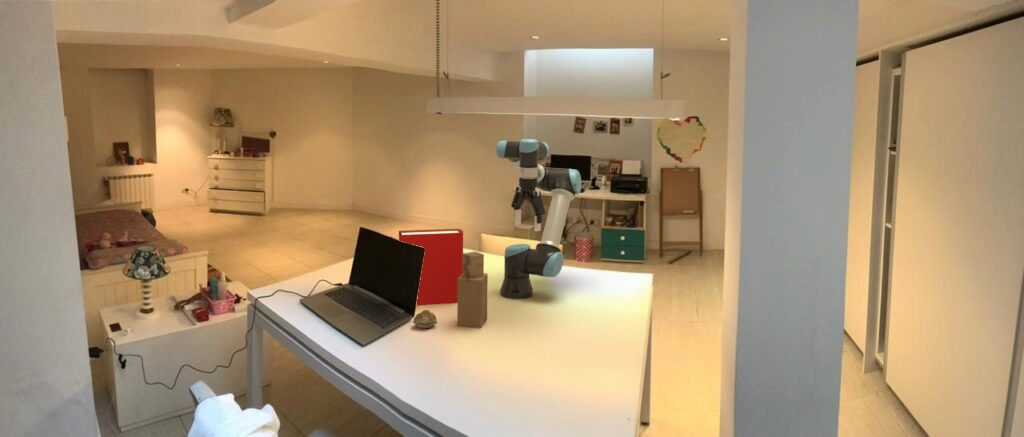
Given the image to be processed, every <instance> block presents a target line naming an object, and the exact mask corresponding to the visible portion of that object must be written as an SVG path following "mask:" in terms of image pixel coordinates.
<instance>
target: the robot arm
mask: <svg viewBox="0 0 1024 437" xmlns="http://www.w3.org/2000/svg"><path fill="white" fill-rule="evenodd" d="M495 151H496V152H495V153H496V155H497V157H498V158H499V159H507V160H508V161H509V162H510V163H511V164H512V165H514V166H515V167H516V168H517V169H518V170H519V172H518V174H519V178H518V186H516V187H515V193H514V196H513V199H512V202H511V206H510V207H511V208H513V210H514V213H513V214H514V225H515V226H519V225H522V208H521V207H522V206H523V204H524V202H525V201H528V202H529V203H530V204H531V207H532V209H533V211H534V214H535V215H534V232H535V233H536V232H540V231H542V228H541V227H542V225H541V224H542V216H544V215H546V210H545V206H544V204H543V200H542V192H541V191H545V192H548V193H550V195H551V196H552V199H551V202H550V206H549V209H548V213H547V216H546V220H545V224H544V229H543V233H542V237H541V240H540V242H538V243H536V246H535V249H534V248H531V245H530V244H527V243H516V244H512V245H509V246H507V247H505V249H504V256H503V258H504V269H503V270H504V275H503V277H504V278H503V281H502V284H501V287H500V289H499V290H500V292H499V294H500V295H501V296H502V297H505V298H509V299H517V300H518V299H526V298H530V297H532V296H533V293H534V289H533V286H532V283H531V279H530V276H531V275H533V276H538V277H544V278H555V277H557V276H558V275H559V274H560V272H561V271H562V268H563V265H564V260H565V258H564V254H563V253H562V249H561V248H560V245H561V244H560V243H561V240H562V237H563V236H562V235H563V233H564V232H563V231H564V228H565V225H566V224H565V223H566V219H567V216H568V212H569V208H570V207H569V206H570V204H571V202H572V201H573V200H574V199H575V197H576V195H579V194H580V193H581V190H582V177H581V174H580V171H579V170H578V169H574V168H573V169H572V168H560V167H559V168H558V167H547V166H542V165H541V164H539V161H542V160H545V159H546V158H548V156H549V155H550V151H551V150H550V145H548V144H547V143H546V142H545V141H538V139H534V138H526V139H524V138H522V139H520V141H519V140H517V141H515V140H500V141H498V143H497V145H496V149H495ZM536 188H537V189H540V190H537V191H536Z"/></svg>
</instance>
